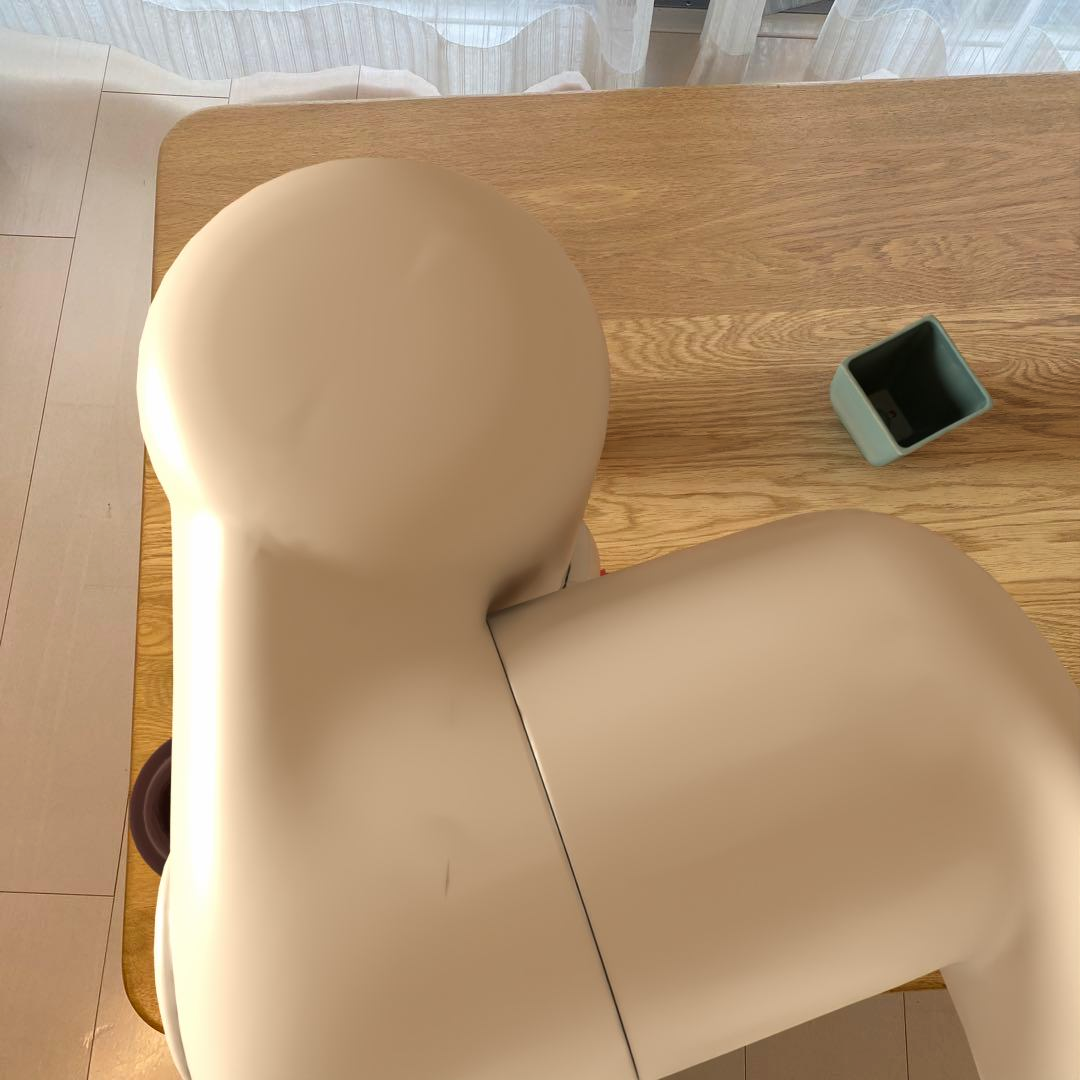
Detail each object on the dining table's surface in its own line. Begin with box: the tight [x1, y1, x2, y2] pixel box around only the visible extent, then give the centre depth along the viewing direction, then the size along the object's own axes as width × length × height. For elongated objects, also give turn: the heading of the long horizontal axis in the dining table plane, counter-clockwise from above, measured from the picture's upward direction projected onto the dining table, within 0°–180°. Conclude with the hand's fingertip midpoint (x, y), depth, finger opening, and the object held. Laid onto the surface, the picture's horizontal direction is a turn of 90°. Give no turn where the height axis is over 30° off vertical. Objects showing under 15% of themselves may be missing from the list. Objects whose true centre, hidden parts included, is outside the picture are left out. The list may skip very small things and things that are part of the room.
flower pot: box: [828, 313, 996, 468], centre depth 75 cm, size 9×9×9 cm
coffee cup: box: [128, 737, 172, 878], centre depth 64 cm, size 10×10×15 cm
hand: (466, 623), depth 42 cm, fingers open, 9 cm apart
